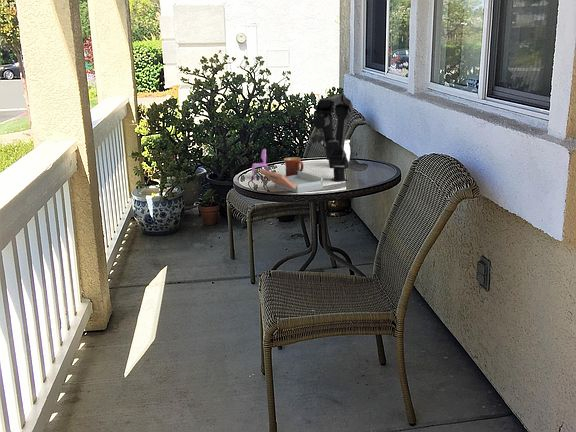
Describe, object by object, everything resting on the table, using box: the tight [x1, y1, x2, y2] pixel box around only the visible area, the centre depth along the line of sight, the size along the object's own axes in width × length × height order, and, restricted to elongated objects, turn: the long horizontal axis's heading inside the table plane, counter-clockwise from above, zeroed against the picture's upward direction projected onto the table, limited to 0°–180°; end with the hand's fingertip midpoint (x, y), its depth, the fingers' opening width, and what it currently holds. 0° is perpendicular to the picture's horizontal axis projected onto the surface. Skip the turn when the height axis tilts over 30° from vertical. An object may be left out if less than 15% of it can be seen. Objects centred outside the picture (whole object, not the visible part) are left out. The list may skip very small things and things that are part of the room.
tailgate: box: [259, 168, 296, 189], centre depth 275 cm, size 2×20×10 cm
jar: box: [344, 138, 351, 163], centre depth 324 cm, size 11×10×15 cm
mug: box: [283, 156, 304, 177], centre depth 300 cm, size 12×9×10 cm
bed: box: [274, 171, 324, 194], centre depth 281 cm, size 14×21×6 cm
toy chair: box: [251, 148, 270, 180], centre depth 307 cm, size 8×9×15 cm
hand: (328, 159), depth 277 cm, fingers closed
